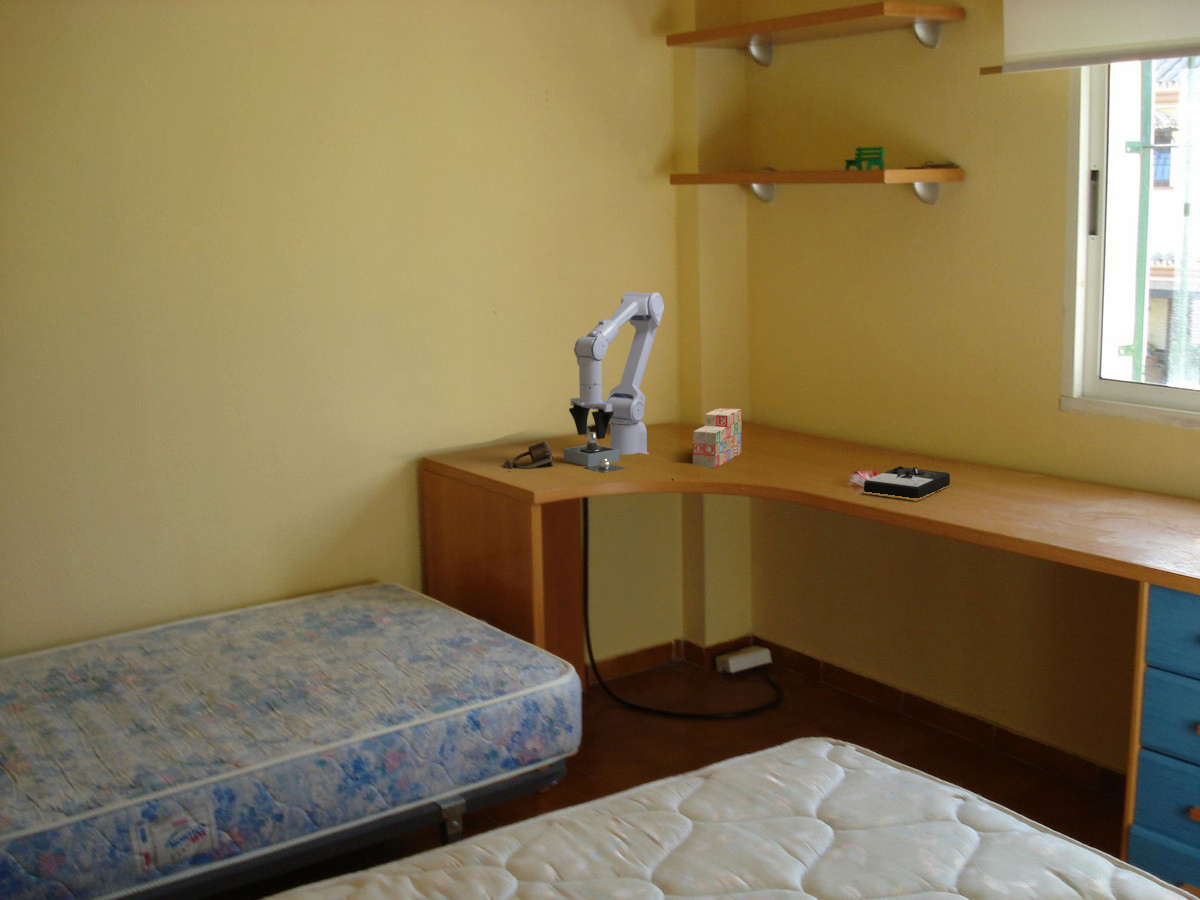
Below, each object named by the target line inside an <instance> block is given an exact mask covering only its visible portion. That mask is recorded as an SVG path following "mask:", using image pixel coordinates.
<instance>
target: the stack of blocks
mask: <svg viewBox="0 0 1200 900" xmlns="http://www.w3.org/2000/svg"><path fill="white" fill-rule="evenodd" d="M742 411H743V410H742V408H741V409H740V408H727V407H726V408H724V407H719V408H716V409H715V408H714V409H713V410H711V411H709V412H707V413H705V414H704V426H702V427H700V428H698V429H696V430H693V431H692V432H693V433H692V434H693V436H692V437H693V439H692V440H693V442H692V465H694V466H695V465H696V466H700V467H704V468H711V469H712V468H713V469H716V468H717V467H719V466H722V465H723V464H725V463H727V462H729V461H730V460H732V459H733V457H734V458H736V457H738V456H740V455H741V454H742V424H743V423H742V416H743V415H742ZM740 453H741V454H740ZM735 456H736V457H735ZM731 458H732V459H731Z"/></svg>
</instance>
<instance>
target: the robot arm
mask: <svg viewBox="0 0 1200 900" xmlns="http://www.w3.org/2000/svg"><path fill="white" fill-rule="evenodd" d="M664 310H665V304H664V301H663V297H662V295H661V294H660V292H654V291H653V292H642V291H641V292H640V291H639V292H638V291H635V292H634V291H631V290H630V291H627V292H625V294H624V295H623V296H622V297H621V299H620V305H619V306H618V307H617V309H616V310H615V311H614V312H613V314H612V315H611V316H610V317H609V318H604V319H600V320H599V321H598V324H597V325H595V327H593V329H591V330H590V331H589V332H588V334H587V335H586V336H584V335H583V336H580V337H579V338H578V339H577V340H576V342H575V344H574V347H573V353H574V355H575V357H576V364H577V366H578V370H579V371H578V373H579V374H578V375H579V377H578V379H579V383H578V384H579V397H570V399H569V401H570V407H569V410H568V411H569V413H570V415H571V416H572V418H573V421H574V424H575V427H576V428H575V429H576V431H577V434H578V436H582V435H583V436H584V435H586V433H587V432H588V431H587V429H588V419H589V418H588V417H589V413H590V410H596V411H591V415H592V417H593V418H592V419H593V420H594V421H593V422H594V427H595V432H596V437H597V440H601V439H605V438H606V433H607V430H608V427H609V426H610V434H609V435H610V447H611V448H615V449H619V455H622V456H623V455H634V454H637V453H640V454H645V455H649V454H650V453H649V452H648V451H647V450H648V448H647V447H648V446H647V444H648V438H647V435H648V432H647V431H648V430H647V427H646V425H645V424H644V422H643V421H641V420H642V419H643V417H644V415H645V404H646V401H647V398H646V397H645V394H644V393H643V392H642V391H641V389H640V388H641V385H642V381H643V377H644V375H645V371H646V368H647V365H648V360H649V359H650V358H649V357H650V355H651V354H650V353H651V350H652V348H653V344H654V341H655V337H656V334H657V330H658V327H660V323H661V320H662V317H663V313H664ZM627 322H629V324H630V325H631V326H633V327H634V328H635V331H634V332H635V333H634V336H633V340H632V343H631V346H630V350H629V351H628V352H629V353H628V357H627V359H626V363H625V366H624V369H623V373H622V376H621V379H620V383H618V385H616V386H614V387H613V388H611V390H610V391H609V394H608V396H607V398H606V399H605V400H603V371H602V370H603V368H602V367H603V365H602V364H603V363H602V362H603V361H602V359H604V358H605V357H606V354H607V350H608V348H609V346H610V344H612V342H613V341H614V340H615V339H616V338H617V337H618V336H619V333H620V328H621V327H622V326H624V325H625V324H626V323H627ZM571 406H572V407H571ZM609 423H610V425H609Z"/></svg>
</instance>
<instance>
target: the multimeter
mask: <svg viewBox="0 0 1200 900" xmlns="http://www.w3.org/2000/svg"><path fill="white" fill-rule="evenodd" d="M950 481H951V475H950V473H949V472H945V471H936V470H929V469H922V468H921V469H920V468H918V467H917V466H913V468H911V467H904V466H902V465H901V466H897V467H895V468H892V469H890V470H887V471H885V472H884V471H883V472H882V473H879V474H877V475H874V476H872V477H869V478H868V479H867V478H866V479H865V480H864V483H863V492H864V491H865V492H872V493H880V494H888V495H895V496H902V497H909V498H920V497H923V496H925V495H927V494H930V493H932V492H935V491H937V490H939V489H941V488H943V487H946V486H948V485H949V486H950V484H951V482H950Z"/></svg>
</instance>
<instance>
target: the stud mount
mask: <svg viewBox="0 0 1200 900" xmlns="http://www.w3.org/2000/svg"><path fill="white" fill-rule="evenodd" d="M583 469H585V470H588V471H592V472H598V473H601V474H604V473H605V474H606V473H610V472H615V471H620V470H627V469H628V468H627V467H623V466H620V465H619V466H618V465H614V464H611V463H610V461H608V459H607V458H602V459H601V461H599V465H594V466H584V467H583Z"/></svg>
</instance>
